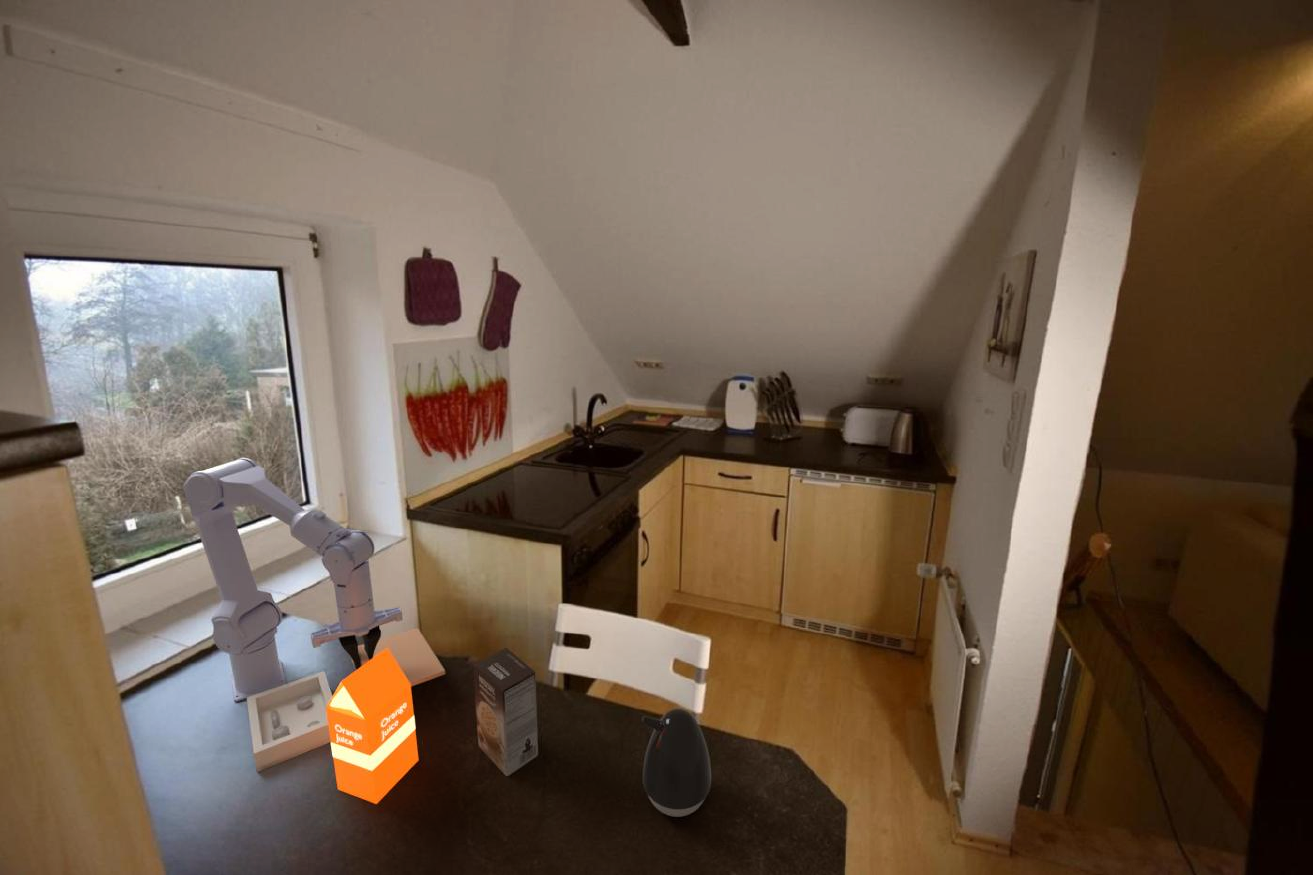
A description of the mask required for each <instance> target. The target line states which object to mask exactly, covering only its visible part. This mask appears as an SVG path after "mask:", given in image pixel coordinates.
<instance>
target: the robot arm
mask: <svg viewBox="0 0 1313 875" xmlns="http://www.w3.org/2000/svg"><path fill="white" fill-rule="evenodd" d="M181 487H182V490H183V492H184V494H185V497H186V502H187V504H188V507H189V510H190V512H191V515H192V518H193V520H194V522H195V527H196V528H197V532H198V535H199V537H200V541H201V544H202V546H203V549H204V553H205V556H206V558H207V561H208V564H209V566H210V567H209V568H210V570H211V573H212V575H213V578H214V581H215V583H216V586H217V589H218V592H219V596H220V598H221V602H220V604H219V606H217V609H216V610H215V612H214V614H213V615H212V617H211V623H212V625H213V626H212V627H213V630H212V631H213V632H212V638H213V642H214V644H215V646H216V647H217V648H218V649H219V650H220V651H222V652H223V653H225V654H228V656H229V661H230V665H231V667H230V668H231V672H232V674H231V682H232V692H233V693H232V695H233V701H234V702H239V701H242V700H247V697H250V696H252V695H255V694H258V693H261V692H264V691H267V690H270V689H273V688H276V687H279V686H282V685H285V684H287V683H286V679H285V674H284V669H283V665H282V661H281V659H280V658H279V653H278V648H277V642H276V637H275V635H277V633H278V626H280V625H281V623H282V622H283V612H282V611H281V608H280V606H279V605H278V604H277V603H276V601H275V600H274V598H273V595H272V593H271V592H268V591H266V590H260V589H258V588H257V584H256V581H255V579H254V575H253V572H252V569H251V565H250V563H249V560H248V557H247V555H246V551H245V548H244V545H243V541H242V538H241V536H240V533H239V530H238V527H237V524H236V519H235V517H234V514H233V512H234V511H235V509H236V508H237V507H238V505H245V504H247V505H249V504H251V505H253V506H255V508H258V509H260V510H261V511H263V512H264V513H267V514H269V515H270V516H272V517H273V518H275V519H276V520H279V521H280V522H282V523H285V524H286V525H288V526H289V530H290V535H291V537H292V538H294V539H295V540H297V541H299V543H301V544H303V546H306V548H308V549H310V550H312V551H313V552H314V553H316V554H318V555H319V556H320V557H321V563H322V565H323V567H324V569H325V570H326V571H327V572H328V574H329V578H330V581H332V583H333V585H334V586H333V587H334V594H335V603H336V609H337V617H338V621H337V622H334V623H332V624H330V625H328V626H326V627H324V628H322V629H320V630H317V631H314V632H311V633H310V639H311V645H312V647H313V649H317V648H319V647H321V645H323V644H325V643H329V642H331V641H336V640H339V643H340V645H341V647H342V648H343V650H344V651H345V652H346V653H347V654H348V655H349V658H350V659H351V658H352V660H353V661H354V665H355V667H354V669H355V668H356V670H357V669H359V668H360V667H361V664H360V660H359V654H358V646H359V642H358V640H357V637H362V639H363V640H362V641H363V644H364V649H365V651H366V653H367V656H368V658H369V661H370V660H371V659H372V658H373V655H374V651H375V648H376V645H377V643H378V641H379V639H381V637H382V630H381V628H380V626H383V625H386V624H390V623H393V622H400V621H401V622H402V621H403V619H404V618H403V612H402V611H403V610H402V609H401V608H400V606H397V607H392V608H388V609H380V610H375V606H374V597H373V595H374V594H373V587H372V579H371V571H370V562H369V559H371V557H373V555H374V553H375V544H374V543H375V542H374V540H373V539H372V537H370V536H369V535H368V534H367V533H366V532H365V531H364V530H360V529H352V528H345V527H343V526H342V525H341V524H339V523H338V522H336V521H334V520H333V519H332V518H330V517H329V516H327V514H326V513H325V512H323V511H322V510H319V509H316V508H315V509H305V508H303V507H302V506H301V505H300V504H298V503H297V502H296V501H295V500H294V499H292V497H290V496H288V495H287V493H285V492H284V491H282V490H281V489H280V488H278V487H277V485H275V484H274V483H272V481H270V480H268V475H267V472H266V469H265V468H264V467H262V466H260V465H259V464H257V462H255V460H252V459H250V458H247V457H240V458H237V459H235V460H232V461H230V462H229V461H228V462H226V463H223V464H219V465H217V466H213V467H211V468H207V469H204V470H199V471H195V472H192V473H190V475H189V476H188V477H187V478H186V481H185V482H184V483H183V484H182V486H181ZM352 660H351V661H352ZM354 665H353V666H354ZM356 670H355V671H356Z"/></svg>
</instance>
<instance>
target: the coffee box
mask: <svg viewBox="0 0 1313 875" xmlns="http://www.w3.org/2000/svg"><path fill="white" fill-rule="evenodd" d="M472 667H473V682H474V683H473V684H474V698H475V700H474V701H475V712H476V713H475V714H476V715H475V716H476V723H477V724H476V727H477V728H476V729H477V740H478V741H477V742H478V747H479V748H480V749H481V750H482V752H483V753H484V754H485V755H486V756H487V757H488V758H489V759H490V760H491V761H492V762H493V764H495V766H496V767H497V768H498V769H499V770H500V771H501V772H502V773H503V774H504V776H506V777H509V776H510V775H512V774H513V773H515V772H516V771H517V770H519V769H520V768H522V767H524V766H525V765H526V764H528V763H529V762H531V761H532V760H533V759H535V758H536V757H538V755H539V743H538V717H537V716H538V715H537V714H538V711H537V710H538V709H537V683H536V681H537V680H536V679H537V678H536V671H535V670H534V669H532V668H531V667H530V666H529V665H527V663H525V662H524V661H523V660H522V659H521V658H520V657H518V656H517V655H516V654H515V653H514V652H512V651H511V650H510V649H508V648H507V647H504V648H502V649H500V650H499V651H496V652H495V653H492V654H489V655H488V656H486V657H484V658H483V659H481V660H480V661H477V662H475V663H473V664H472Z"/></svg>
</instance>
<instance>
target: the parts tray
mask: <svg viewBox="0 0 1313 875" xmlns="http://www.w3.org/2000/svg"><path fill="white" fill-rule="evenodd" d="M330 688H331V687H330V685H329V683H328V678H327V676H326V673H325V671H324V670H323V671H320V672H318V673H315V674H314V673H313V674H312V675H307V676H305V677H302V678H300V679H297V680H293V681H290V682H288V683H286V684H285V685H282V686H279V687H276V688H273V689H270V690H267V691H264V692H261V693H258V694H255V695H252V696H250V697H247V698H246V701H247V702H246V703H247V704H246V705H247V712H248V717H249V718H248V719H249V727H250V734H251V743H252V750H253V757H254V763H255V768H256V772H257V773H259V772H261V771H265V770H266V769H268V768H271V767H274V766H276V765H278V764H280V763H283V762H286V761H287V760H291V759H292V758H293V759H294V758H295V757H298V756H300V755H303V754H305V753H307V752H309V751H312V750H314V749H317V748H319V747H322V746H324V745H327V744H329V743H331V739H330V732H329V726H328V719H327V712H326V707H327V705H328V703H329V702H330V700H331V698H332V697H333V694H332V690H331V689H330Z"/></svg>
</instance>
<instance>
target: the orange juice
mask: <svg viewBox="0 0 1313 875" xmlns="http://www.w3.org/2000/svg"><path fill="white" fill-rule="evenodd" d="M332 696H333V697H332V698H331V700H330V702H329V703H328V705H327V707H326V712H327V719H328V726H329V732H330V739H331V742H330V748H331V754H332V758H333V764H334V772H335V779H336V784H337V785H336V786H337V787H336V788H337V790H338V791H341V792H342V793H346V794H349V795H351V796H354V797H358V798H360V799H362V800H365V801H367V802H370V803H373V804H375V805H377V804H378V803H379V802H380V801H381V800H382V799H383V798H384V797H385V796H386V795H387V794H388V793H389V792H390V790H392V789H393V787H394V786H396V784H397V783H398V782H399V781H400V780H401V779H402V778H403V777H404V776H405V775H406V774H407V773H408V772H409V770H411V768H413V767H414V766H415V765H416V763H418V762H419V753H418V744H417V743H418V741H417V735H416V734H417V733H416V732H417V731H416V728H417V727H416V719H415V718H416V717H415V713H414V704H413V695H412V686H411V683H410V682H409V681H408V679H407V678H406V676H405V675H404V673H403V671H402V670H401V668H400V667H399V665H398V664H397V662H396V660H395V659H394V657H393V656H392V654H391V652H390V651H389V649H388V647H387V648H386V649H385V650H383V651H382V652H380V653H379V654H378V655H376V656H375V657H374V658H372V659H371V660H370V661H368V662H367V663H365V664H364V665H363V666H361V667H360V668H359V669H357V670H354V671H353V672H352V673H350V674H349V675H348V676H346V677H345V678H344V679H342V680H341V681H340V683H339V684H338V686H337V688H336V690H335V692H334V693H333V694H332Z"/></svg>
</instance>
